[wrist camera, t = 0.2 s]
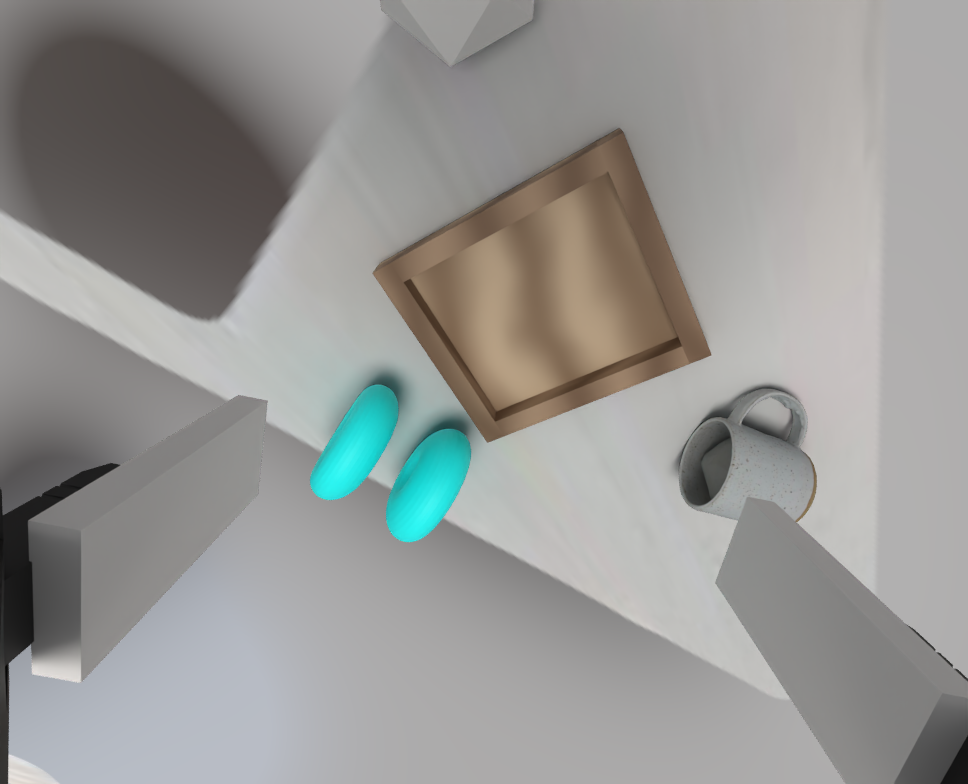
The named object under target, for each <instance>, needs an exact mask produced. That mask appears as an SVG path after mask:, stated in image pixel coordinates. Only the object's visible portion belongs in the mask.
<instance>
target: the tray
mask: <svg viewBox="0 0 968 784" xmlns="http://www.w3.org/2000/svg"><path fill="white" fill-rule="evenodd" d="M373 275H374V276H375V278H376V279H377V281H378V282H379V284H380V285H381V286H382V288H383V289H384V291H385V292H386V294H387V295H388V297H389V298H390V300H391V301H392V303H393V304H394V306H395V307H396V309H397V310H398V312H399V313H400V314H401V316H402V317H403V319H404V320H405V322H406V323H407V325H408V326H409V328H410V329H411V331H412V332H413V334H414V335H415V337H416V338H417V340H418V341H419V343H420V344H421V345H422V347H423V348H424V350H425V351H426V353H427V354H428V356H429V357H430V359H431V360H432V362H433V363H434V365H435V366H436V368H437V369H438V371H439V372H440V374H441V375H442V376H443V378H444V379H445V381H446V382H447V384H448V385H449V387H450V388H451V390H452V391H453V393H454V394H455V396H456V397H457V399H458V400H459V402H460V403H461V404H462V406H463V407H464V409H465V410H466V412H467V413H468V415H469V416H470V418H471V419H472V421H473V422H474V424H475V425H476V427H477V428H478V430H479V431H480V433H481V434H482V435H483V437H484V438H485V440H486V441H487V443H488V442H491V441H493V440H496V439H498V438H501V437H503V436H506V435H508V434H511V433H514V432H516V431H519V430H521V429H524V428H526V427H529V426H532V425H534V424H537V423H539V422H542V421H544V420H547V419H549V418H552V417H555V416H557V415H560V414H562V413H565V412H567V411H570V410H572V409H575V408H578V407H580V406H583V405H585V404H588V403H590V402H593V401H596V400H598V399H601V398H603V397H606V396H608V395H611V394H613V393H616V392H619V391H621V390H624V389H626V388H629V387H631V386H634V385H637V384H639V383H642V382H644V381H647V380H649V379H652V378H654V377H657V376H660V375H662V374H665V373H667V372H670V371H672V370H675V369H678V368H680V367H683V366H685V365H688V364H690V363H693V362H695V361H698V360H701V359H703V358H706V357H708V356H711V352H710V350H709V347H708V345H707V342H706V340H705V337H704V335H703V332H702V330H701V327H700V324H699V322H698V319H697V317H696V314H695V312H694V309H693V307H692V304H691V302H690V299H689V297H688V294H687V292H686V289H685V287H684V284H683V282H682V279H681V277H680V274H679V271H678V269H677V266H676V264H675V261H674V259H673V256H672V254H671V251H670V249H669V246H668V244H667V241H666V239H665V236H664V234H663V231H662V229H661V226H660V224H659V221H658V219H657V216H656V213H655V211H654V208H653V206H652V203H651V201H650V198H649V196H648V193H647V191H646V188H645V186H644V183H643V181H642V178H641V176H640V173H639V171H638V168H637V166H636V163H635V161H634V158H633V155H632V153H631V150H630V148H629V145H628V143H627V140H626V138H625V135H624V133H623V131H622V130H621V129H620V128H619V129H617V130H615V131H613V132H612V133H610V134H608V135H606V136H605V137H603V138H601V139H599V140H598V141H596V142H594V143H592V144H590V145H589V146H587V147H585V148H583V149H582V150H580V151H578V152H576V153H575V154H573V155H571V156H569V157H567V158H566V159H564V160H562V161H560V162H559V163H557V164H555V165H553V166H551V167H550V168H548V169H546V170H544V171H543V172H541V173H539V174H537V175H536V176H534V177H532V178H530V179H528V180H527V181H525V182H523V183H521V184H520V185H518V186H516V187H514V188H513V189H511V190H509V191H507V192H505V193H504V194H502V195H500V196H498V197H497V198H495V199H493V200H491V201H489V202H488V203H486V204H484V205H482V206H481V207H479V208H477V209H475V210H474V211H472V212H470V213H468V214H466V215H465V216H463V217H461V218H459V219H458V220H456V221H454V222H452V223H451V224H449V225H447V226H445V227H443V228H442V229H440V230H438V231H436V232H435V233H433V234H431V235H429V236H427V237H426V238H424V239H422V240H420V241H419V242H417V243H415V244H413V245H412V246H410V247H408V248H406V249H404V250H403V251H401V252H399V253H397V254H396V255H394V256H392V257H390V258H388V259H387V260H385V261H383V262H381V263H380V264H379V265H378V267H377V268H376V269H375V270H374V272H373Z"/></svg>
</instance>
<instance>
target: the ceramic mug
mask: <svg viewBox="0 0 968 784" xmlns="http://www.w3.org/2000/svg"><path fill="white" fill-rule="evenodd" d="M769 397H772V398H774V399H776V400H778V401H780V402H781V403H783V405H784V406H785V407H786V408H789V409H791V410H792V414H793V422H792V429H791V432H790V435H789V437H788V439H787V441H783V440H781V439H779V438H776V437H773V436H771V435H767V434H764V433H762V432H759V431H757V430H755V429H753V428H750V427H747V426H745V425H743V424H742V420H743V418H744V417H745V416H746V415H747V414H748V412H749V411H750V410H751V409H752V408H753V407H754V406H755V405H756V404H757V403H758V402H760V401H762V400H764V399H767V398H769ZM807 424H808V418H807V415H806V411H805V409H804V407H803V406H802V404H801V403H800V402H799V401H798V400H797V399H796V398H794V397H793V396H791V395H789V394H787V393H785V392H782V391H778V390H774V389H759V390H756V391H754V392H751V393H749V394H748V395H746V396H745V397H744V398H743V399H742V400H741V401H740V402H739V403H738V404H737V406H736V407H735V408H734V410H733V411H732V413H731V414H730V416H729V417H728V418H727V419H726V418H722V417H714V418H711V419H708V420H707V421H705V422H703V423H702V424H701V425H700V426H699V427H698V428H697V429H696V430H695V432H694V433H693V434H692V436H691V437H690V439H689V441H688V442H687V445H686V447H685V449H684V451H683V455H682V459H681V462H680V468H679V484H680V490H681V494H682V496H683V499H684V500H685V502H686V503H687V504H688V505H689V506H690V507H692V508H693V509H695V510H697V511H702V512H706V513H710V514H714V515H718V516H722V517H726V518H729V519H734V520H739V517H740V515H741V512H742V509H743V507H744V504H745V501H746V498H747V497H752V498H757V499H762V500H767V501H772V502H775V503H776V504H777V505H778V506H779V507H780V508H781V509H782V510H784V511H785V512H786V513H787V514H788V515H789V516H790V517H791V518H792V519H793V520H794V521H795V522H798V521H799V520H800V519H801V518H802V517H803V516H804V515H805V514H806V512H807V511H808V510H809V508H810V506H811V505H812V502H813V500H814V497H815V493H816V487H817V476H816V472H815V468H814V465H813V463H812V461H811V459H810V458H809V457H808V456H807V454H805V453H804V452H803V451H802V450H801V449H800V446H801V444H802V443H803V440H804V438H805V435H806V432H807Z"/></svg>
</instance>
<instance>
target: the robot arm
mask: <svg viewBox="0 0 968 784" xmlns="http://www.w3.org/2000/svg"><path fill="white" fill-rule="evenodd" d="M267 402H268V401H266V400H261V399H256V398H251V397H246V396H241V395H238V396H236V397H234V398H233V399H231V400H229V401H228V402H226V403H224V404H223V405H221V406H219V407H218V408H216V409H214V410H213V411H211V412H209V413H208V414H206V415H205V416H203V417H201V418H199V419H198V420H196V421H194V422H192V423H191V424H189V425H187V426H186V427H184V428H182V429H181V430H179V431H178V432H176V433H174V434H172V435H171V436H169V437H167V438H166V439H164V440H162V441H161V442H159V443H157V444H156V445H154V446H152V447H151V448H149V449H147V450H145V451H144V452H142V453H140V454H139V455H137V456H136V457H134V458H132V459H130V460H129V461H127V462H126V463H124V464H122V465H118V464H113V463H110V464H106V465H103V466H99V467H96V468H93V469H89V470H86V471H82V472H81V473H79V474H77V475H75V476H74V477H71V478H70V479H68V480H66V481H64V482H63V483H61V485H60V486H55V487H53V488H52V489H50V490H48V491H46V492H44V493H43V494H42V496H41V497H40V496H38V497H35V498H34V499H32V500H30V501H28V502H26V503H25V504H23V505H21V506H19V507H18V508H16V509H14V510H13V511H10V512H8V513H7V514H5V515H2V493H1V489H0V784H8V741H9V740H8V739H9V736H8V735H9V734H8V733H9V663H10V662H11V661H12V660H13V659H14V658H15V657H16V656H17V655H18V654H20V653H21V652H22V651H23V650H24V649H26V648H27V647H28V646H29V645H30V644H31V650H32V674H34V675H40V676H45V677H51V678H56V679H62V680H68V681H74V682H79V683H81V682H82V681H83V680H84V679H85V678H86V677H87V676H88V675H89V674H90V672H92V671H93V669H94V668H95V667H96V666H97V665H98V664H99V663H100V662H101V661H102V660H103V659H104V658H105V657H106V656H107V654H109V652H110V651H111V650H112V649H113V648H114V647H115V646H116V645H117V644H118V643H119V642H120V641H121V640H122V639H123V638H124V637H125V635H126V634H127V633H128V632H129V631H130V630H131V629H132V628H133V627H134V626H135V625H136V624H137V623H138V622H139V621H140V619H141V618H142V617H143V616H144V615H145V614H146V613H147V612H148V611H149V610H150V609H151V608H152V607H153V606H154V605H155V603H156V602H157V601H158V600H159V599H160V598H161V597H162V596H163V595H164V594H165V593H166V592H167V591H168V590H169V589H170V588H171V586H172V585H173V584H174V583H175V582H176V581H177V580H178V579H179V578H180V577H181V576H182V574H184V572H186V571H187V569H188V568H189V567H190V566H191V565H192V564H193V563H194V562H195V561H196V560H197V559H198V558H199V557H200V556H201V555H202V554H203V552H204V551H205V550H206V549H207V548H208V547H209V546H210V545H211V544H212V543H213V542H214V541H215V540H216V539H217V538H218V536H219V535H220V534H221V533H222V532H223V531H224V530H225V529H226V528H227V527H228V526H229V525H230V524H231V523H232V522H233V520H234V519H235V518H236V517H237V516H238V515H239V514H240V513H241V512H242V511H243V510H244V509H245V508H246V507H247V506H248V505H249V504H250V502H251V501H252V500H253V499H254V498H255V497H256V496H257V495H258V491H259V482H260V471H261V462H262V451H263V441H264V432H265V422H266V412H267ZM715 583H716V584H717V586H718V588H719V589H720V591H721V592H722V594H723V595H724V597H725V598H726V600H727V601H728V603H729V605H730V606H731V608H732V609H733V611H734V612H735V614H736V615H737V617H738V618H739V620H740V622H741V623H742V625H743V626H744V628H745V629H746V631H747V632H748V634H749V635H750V637H751V638H752V640H753V642H754V643H755V645H756V646H757V648H758V649H759V651H760V652H761V654H762V655H763V657H764V659H765V660H766V662H767V663H768V665H769V666H770V668H771V669H772V671H773V672H774V674H775V676H776V677H777V679H778V680H779V682H780V683H781V685H782V686H783V688H784V689H785V691H786V693H787V694H788V696H789V697H790V699H791V700H792V702H793V703H794V705H795V706H796V708H797V709H798V711H799V713H800V714H801V716H802V717H803V719H804V720H805V722H806V723H807V725H808V726H809V728H810V730H811V731H812V733H813V734H814V736H815V737H816V739H817V740H818V742H819V743H820V745H821V747H822V748H823V750H824V751H825V753H826V754H827V756H828V757H829V759H830V760H831V762H832V763H833V765H834V767H835V768H836V770H837V771H838V773H839V774H840V776H841V777H842V779H843V781H844V782H845V783H846V784H968V679H967V678H966V677H965V676H964V675H963V674H962V673H961V672H960V671H959V670H957V669H954V668H953V665H952V664H951V663H950V662H949V661H948V660H947V659H946V658H944V657H943V656H942V655H941V654H940V653H937V652H935V649H934V647H933V646H932V645H930V644H929V643H928V642H927V641H926V640H925V639H924V638H923V637H922V636H921V635H920V634H919V633H917V632H916V631H915V630H914V629H913V628H911V627H910V626H908V625H907V624H905V623H904V622H903V621H902V620H901V619H900V618H899V617H897V615H895V614H894V613H893V612H892V611H891V610H890V609H889V608H888V607H887V606H886V605H885V604H884V603H882V602H881V601H880V600H879V599H878V598H877V597H876V596H875V595H874V594H873V593H872V592H871V591H870V590H869V589H867V588H866V587H865V586H864V585H863V584H862V583H861V582H860V581H859V580H858V579H857V578H856V577H855V576H853V575H852V574H851V573H850V572H849V571H848V570H847V569H846V568H845V567H844V566H843V565H842V564H841V563H839V562H838V561H837V560H836V559H835V558H834V557H833V556H832V555H831V554H830V553H829V552H828V551H827V550H826V549H824V548H823V547H822V546H821V545H820V544H819V543H818V542H817V541H816V540H815V539H814V538H813V537H812V536H810V535H809V534H808V533H807V532H806V531H805V530H804V529H803V528H802V527H801V526H800V525H799V524H798V523H796V522H795V521H794V520H793V519H792V518H791V517H790V516H789V515H788V514H787V513H786V512H785V511H784V510H782V509H781V508H780V507H779V506H778V505H777V504H776V503H775V502H772V501H767V500H762V499H757V498H752V497H747V498H746V501H745V504H744V507H743V509H742V512H741V515H740V517H739V520H738V523H737V525H736V528H735V531H734V533H733V536H732V539H731V542H730V544H729V547H728V550H727V552H726V555H725V558H724V560H723V563H722V566H721V569H720V571H719V574H718V577H717V579H716V582H715Z"/></svg>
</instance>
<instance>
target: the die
mask: <svg viewBox="0 0 968 784" xmlns="http://www.w3.org/2000/svg"><path fill="white" fill-rule="evenodd" d="M380 2H381V10H382V11H383V12H384V13H385V14H387V15H388V16H389V17H390V18H391V19H393V20H394V21H395V22H396V23H397V24H399V25H400V26H401V27H402V28H403V29H405V30H406V31H407V32H408V33H409V34H411V35H412V36H413V37H414V38H416V39H417V40H418V41H419V42H420V43H422V44H423V45H424V46H425V47H426V48H428V49H429V50H430V51H431V52H432V53H434V54H435V55H436V56H437V57H438V58H440V59H441V60H442V61H443V62H445V63H446V64H447V65H448V66H449V67H452V66H454V65H455V64H457V63H459V62H461V61H462V60H464V59H466V58H468V57H469V56H471V55H473V54H474V53H476V52H478V51H480V50H481V49H483V48H485V47H487V46H488V45H490V44H492V43H494V42H495V41H497V40H499V39H500V38H502V37H504V36H506V35H507V34H509V33H511V32H513V31H514V30H516V29H518V28H520V27H521V26H523V25H525V24H527V23H528V22H530V21H532V20H533V12H534V0H380Z"/></svg>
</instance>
